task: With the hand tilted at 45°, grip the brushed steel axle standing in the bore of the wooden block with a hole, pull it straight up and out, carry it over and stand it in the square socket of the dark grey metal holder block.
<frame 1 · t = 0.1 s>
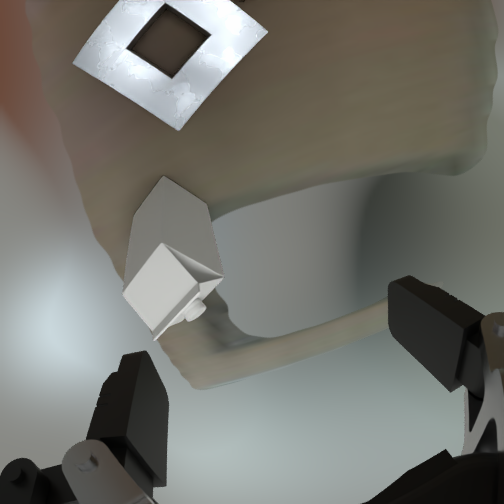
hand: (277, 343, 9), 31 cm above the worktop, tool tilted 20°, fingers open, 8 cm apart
milk carton: (169, 208, 40), on the worktop
holder: (169, 42, 28), on the worktop
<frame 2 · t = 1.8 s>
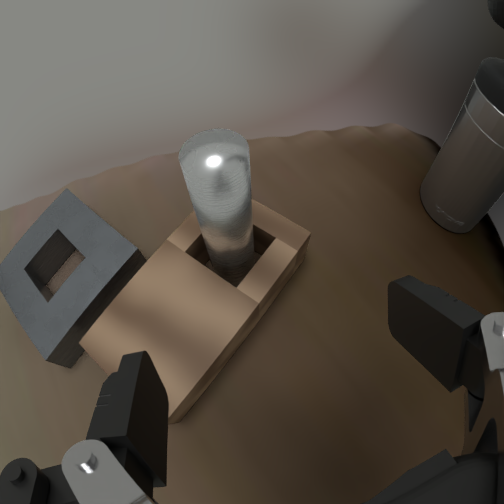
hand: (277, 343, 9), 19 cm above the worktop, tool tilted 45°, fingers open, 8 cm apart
wooden block with hole: (203, 308, 29), on the worktop
holder: (73, 280, 31), on the worktop
axle: (234, 269, 31), resting in wooden block with hole
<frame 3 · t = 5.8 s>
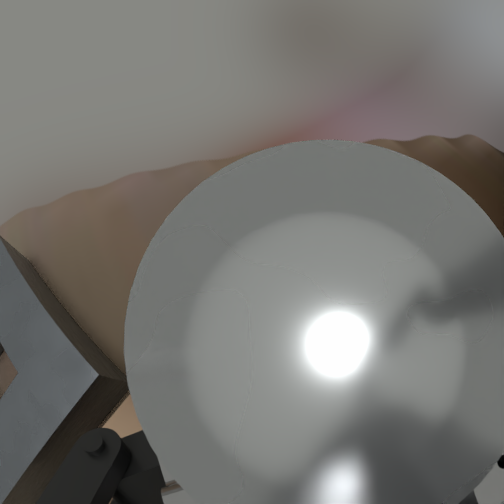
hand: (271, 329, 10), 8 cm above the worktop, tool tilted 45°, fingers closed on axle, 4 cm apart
wooden block with hole: (224, 458, 15), on the worktop
holder: (18, 380, 16), on the worktop
axle: (277, 392, 16), resting in wooden block with hole, touching gripper
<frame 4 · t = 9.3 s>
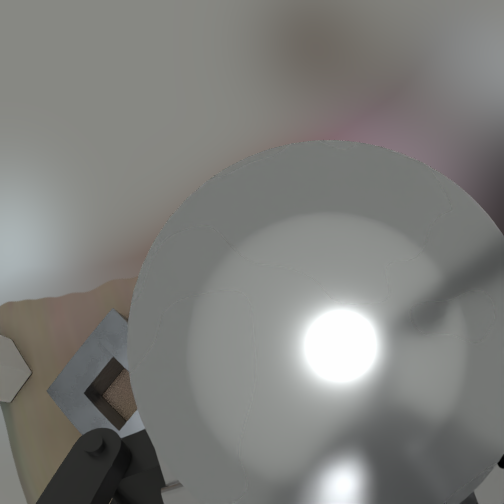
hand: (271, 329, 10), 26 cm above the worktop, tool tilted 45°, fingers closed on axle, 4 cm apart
milk carton: (11, 371, 33), on the worktop
holder: (131, 395, 33), on the worktop
axle: (277, 392, 16), point 18 cm above the worktop, touching gripper
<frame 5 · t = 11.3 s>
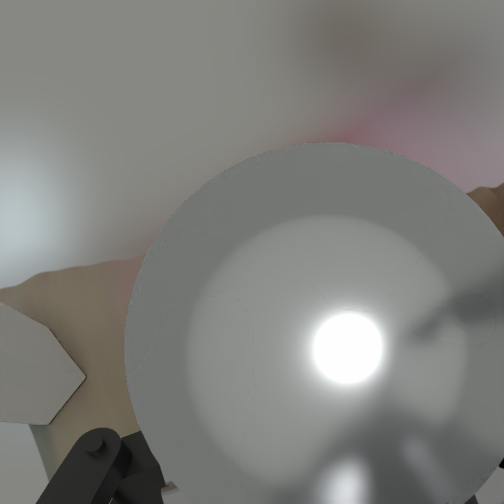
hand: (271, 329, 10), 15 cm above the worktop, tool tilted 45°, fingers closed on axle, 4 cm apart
milk carton: (48, 376, 24), on the worktop
axle: (277, 393, 16), point 7 cm above the worktop, touching gripper
when the fingers open (9 cm above the worktop, at t = 13.0 s): axle drops 1 cm, resting in holder.
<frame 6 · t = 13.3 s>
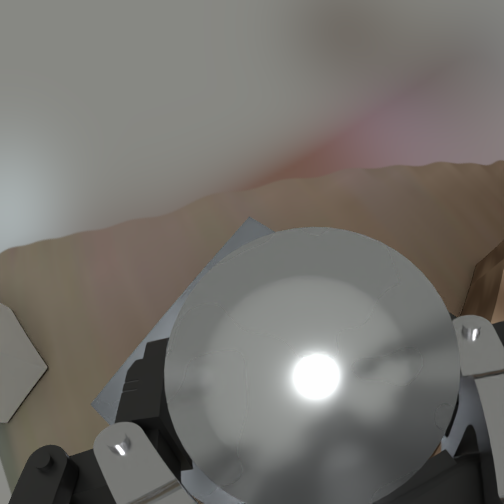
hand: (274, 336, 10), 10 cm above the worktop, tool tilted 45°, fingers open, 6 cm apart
wooden block with hole: (481, 400, 16), on the worktop
milk carton: (9, 365, 18), on the worktop
holder: (275, 394, 18), on the worktop
axle: (275, 396, 18), resting in holder
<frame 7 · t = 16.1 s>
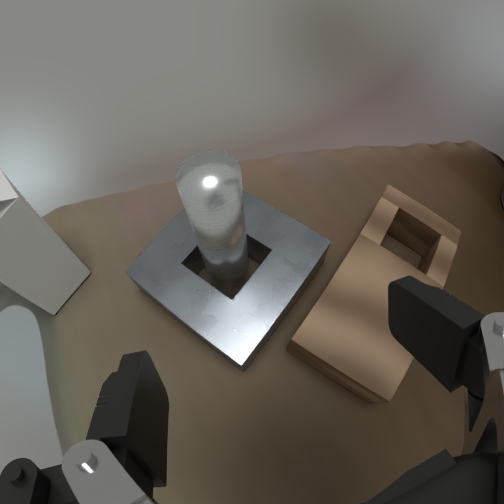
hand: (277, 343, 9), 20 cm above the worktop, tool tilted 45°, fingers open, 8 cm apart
wooden block with hole: (377, 296, 31), on the worktop
milk carton: (59, 278, 33), on the worktop
holder: (230, 276, 33), on the worktop
axle: (230, 277, 33), resting in holder
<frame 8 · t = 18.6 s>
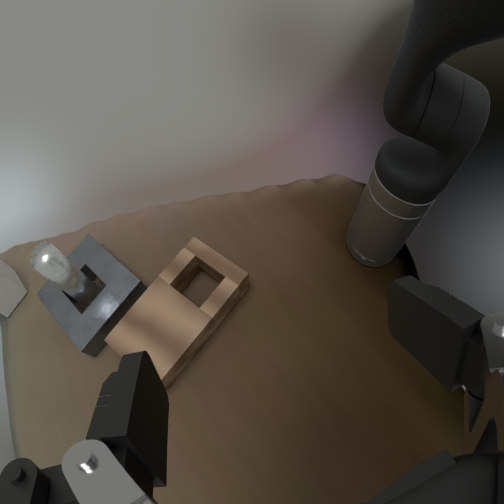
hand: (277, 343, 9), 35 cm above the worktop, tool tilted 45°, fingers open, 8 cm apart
wooden block with hole: (182, 318, 45), on the worktop
milk carton: (12, 294, 48), on the worktop
holder: (96, 298, 47), on the worktop
axle: (95, 299, 47), resting in holder
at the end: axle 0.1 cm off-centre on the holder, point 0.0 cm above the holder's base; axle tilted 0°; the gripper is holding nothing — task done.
